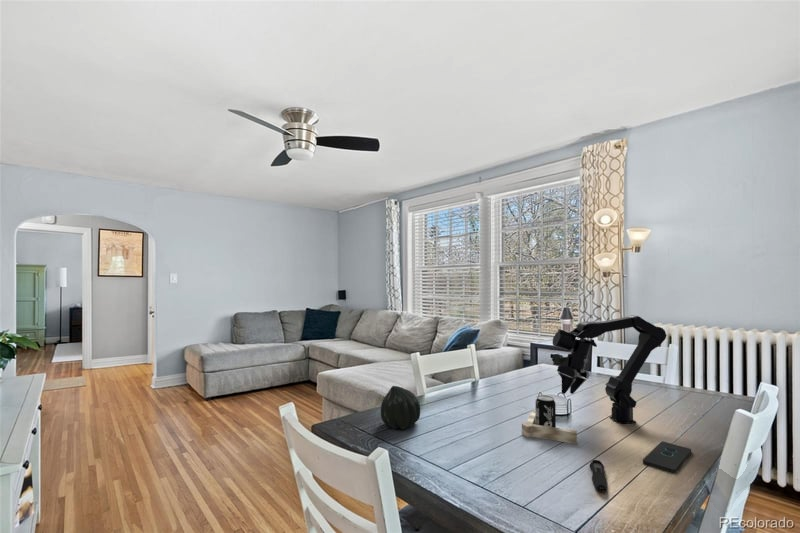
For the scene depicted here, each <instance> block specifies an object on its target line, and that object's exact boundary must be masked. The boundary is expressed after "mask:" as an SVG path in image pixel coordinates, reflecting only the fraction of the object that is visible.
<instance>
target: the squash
mask: <svg viewBox="0 0 800 533" xmlns="http://www.w3.org/2000/svg"><path fill="white" fill-rule="evenodd" d="M420 417H421V404H420V401H419V399H418V397H417V396H416V394H415V393H413V392H412V391H411V390H408V389H406V388H404V387H400V386H397V385H392V386H391V387H390V389H389V390H388V392H387V393H386V394H385V396H384V397H383V399H382V402H381V405H380V418H381V421H382V422H383V424H384V425H386V426H387V427H390V428H392V429H393V430H398V429H400V430H406V429H407V428H408V427H412V426H414V425H415V424H416V423H417V422H418V420H420Z"/></svg>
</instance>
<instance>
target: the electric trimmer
mask: <svg viewBox="0 0 800 533" xmlns="http://www.w3.org/2000/svg"><path fill="white" fill-rule="evenodd" d="M589 468H590V469H591V471H592V472H591V474H592V476H591V481H592V483H593V486H594V488H595V490H596V491H599V492H603V493H607V492H608V481H607V477H606V474H605V466H604V464H603V462H601V460H598V459H592V460H591V462H590V463H589Z"/></svg>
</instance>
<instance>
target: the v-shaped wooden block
mask: <svg viewBox="0 0 800 533" xmlns="http://www.w3.org/2000/svg"><path fill="white" fill-rule="evenodd" d="M521 434H522V435H523V436H525V437H526V438H529V437H530V438H531V437H533V438H539V439H545V440H550V441H557V442H563V443H569V444H576V445H577V444H578V435H577V434H578V431H577V430H573V429H567V428H566V429H565V428H560V427H556V428H555V427H548V426H542V425H536V410H535V411H533V410H531V411H530V414H529V416H528V417H527V420H526V422H522V423H521Z"/></svg>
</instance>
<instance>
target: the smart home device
mask: <svg viewBox="0 0 800 533" xmlns="http://www.w3.org/2000/svg"><path fill="white" fill-rule="evenodd" d="M691 454H692V448H690V447H686V446H681V445H677V444H674V443H671V442H667V441H663V440H662V441H660V442H659V443H658V444H657V445H656V446H655V447H654V448H653V449H652V450H651V451H650V452H649V453H648V454H647V455H646V456H645V457H644V458H643V459H642V464H643V466H648V467H651V468H653V469H657V470H661V471H663V472H664V471H665V472H668V473H670V472H671V474H673V473H674V474H676V473H677V472H678V471H679V470H680V469H681V467H682V466H683V465H684V463H685V462H686V461H687V460H688V458H689V457H690V456H691Z"/></svg>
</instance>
